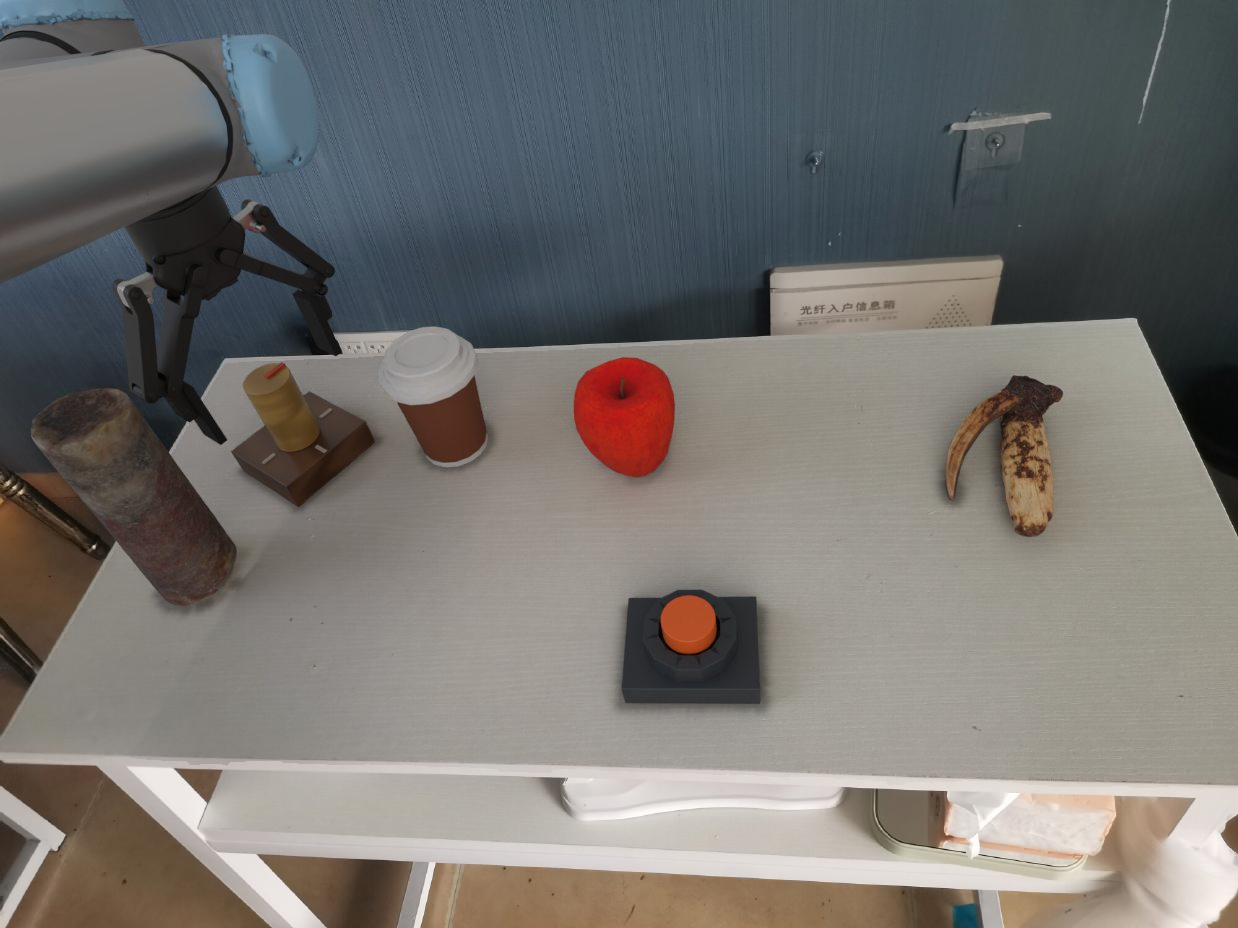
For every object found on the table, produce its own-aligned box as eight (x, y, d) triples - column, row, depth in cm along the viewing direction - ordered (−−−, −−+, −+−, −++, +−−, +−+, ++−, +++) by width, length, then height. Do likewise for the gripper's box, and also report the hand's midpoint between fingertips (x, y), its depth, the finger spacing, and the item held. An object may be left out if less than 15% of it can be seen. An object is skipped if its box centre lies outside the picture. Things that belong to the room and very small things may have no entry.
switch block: (625, 703, 66) (618, 676, 63) (631, 612, 72) (625, 584, 69) (760, 704, 65) (759, 676, 62) (756, 611, 70) (756, 582, 67)
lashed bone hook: (945, 396, 84) (942, 541, 72) (950, 357, 81) (948, 503, 69) (1052, 401, 82) (1068, 553, 70) (1062, 361, 78) (1080, 514, 66)
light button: (661, 654, 64) (659, 641, 63) (663, 608, 67) (661, 595, 66) (716, 654, 64) (715, 641, 63) (716, 607, 67) (715, 594, 65)
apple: (580, 498, 81) (559, 413, 73) (594, 430, 86) (577, 344, 79) (677, 500, 79) (666, 413, 71) (685, 430, 85) (676, 343, 77)
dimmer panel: (298, 507, 84) (285, 485, 82) (243, 471, 89) (229, 450, 86) (375, 442, 89) (365, 419, 87) (319, 411, 94) (308, 389, 91)
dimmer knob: (294, 458, 85) (260, 398, 79) (266, 441, 87) (231, 382, 81) (329, 429, 87) (298, 370, 81) (301, 414, 89) (269, 355, 83)
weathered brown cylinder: (179, 543, 83) (54, 384, 69) (253, 537, 82) (143, 376, 68) (149, 611, 78) (7, 456, 64) (228, 606, 77) (102, 447, 63)
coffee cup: (392, 457, 87) (350, 365, 79) (453, 400, 92) (419, 308, 83) (459, 490, 83) (423, 397, 75) (520, 429, 88) (492, 334, 79)
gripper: (261, 106, 75) (348, 306, 91) (-17, 261, 63) (139, 461, 79) (316, 123, 72) (397, 328, 87) (33, 291, 59) (186, 495, 75)
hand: (275, 392), depth 83 cm, fingers open, 13 cm apart
